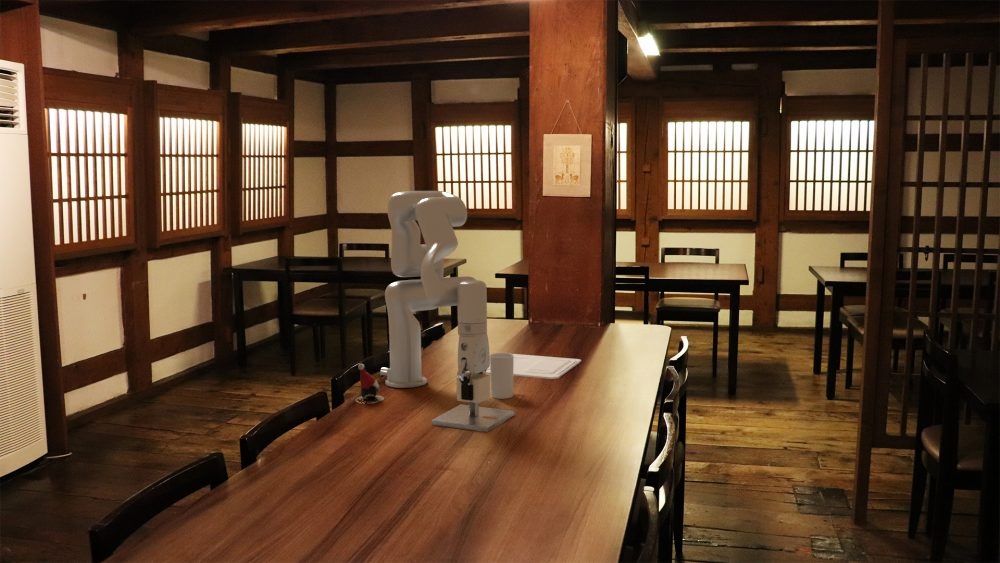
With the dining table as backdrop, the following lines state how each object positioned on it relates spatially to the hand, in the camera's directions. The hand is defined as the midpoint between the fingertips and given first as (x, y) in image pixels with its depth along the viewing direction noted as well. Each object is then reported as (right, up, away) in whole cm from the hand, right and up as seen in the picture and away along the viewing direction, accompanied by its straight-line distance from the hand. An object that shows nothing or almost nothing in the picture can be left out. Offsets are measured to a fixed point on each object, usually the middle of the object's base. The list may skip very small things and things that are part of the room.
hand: (473, 395), depth 222 cm
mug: (+8, -3, +26) cm, 27 cm away
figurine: (-30, -4, +21) cm, 37 cm away
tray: (+17, +1, +61) cm, 63 cm away
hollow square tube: (0, -1, 0) cm, 1 cm away
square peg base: (0, -6, +1) cm, 7 cm away
